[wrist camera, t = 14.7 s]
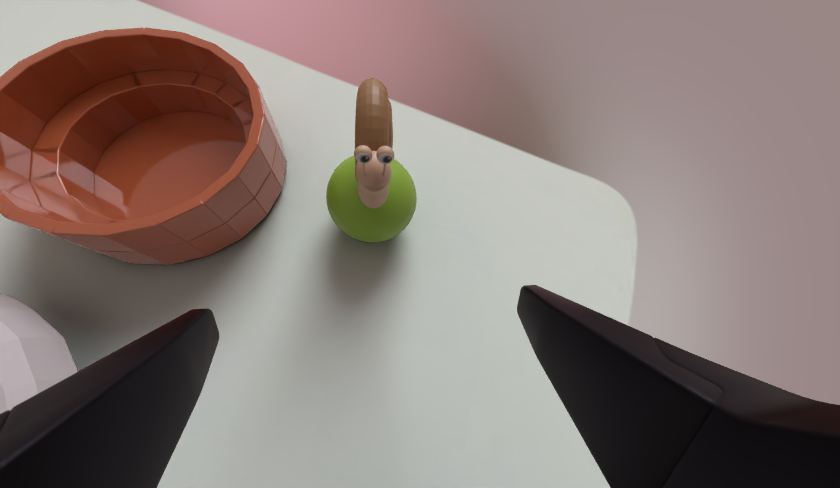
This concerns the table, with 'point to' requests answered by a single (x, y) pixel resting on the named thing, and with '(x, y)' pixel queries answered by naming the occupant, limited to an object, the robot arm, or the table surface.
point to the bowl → (137, 145)
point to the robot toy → (29, 354)
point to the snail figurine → (372, 175)
